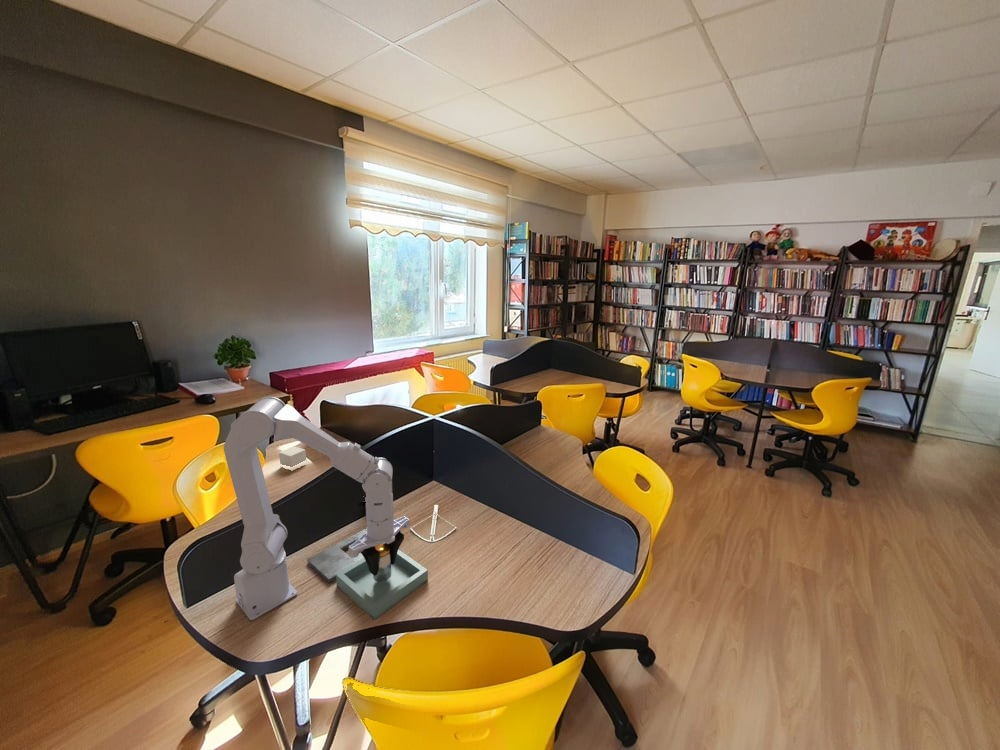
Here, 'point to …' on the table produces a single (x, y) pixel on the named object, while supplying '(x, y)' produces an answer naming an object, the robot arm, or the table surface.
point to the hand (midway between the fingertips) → (382, 567)
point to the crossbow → (433, 527)
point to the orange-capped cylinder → (383, 563)
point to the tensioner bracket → (335, 558)
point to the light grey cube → (292, 456)
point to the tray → (381, 584)
